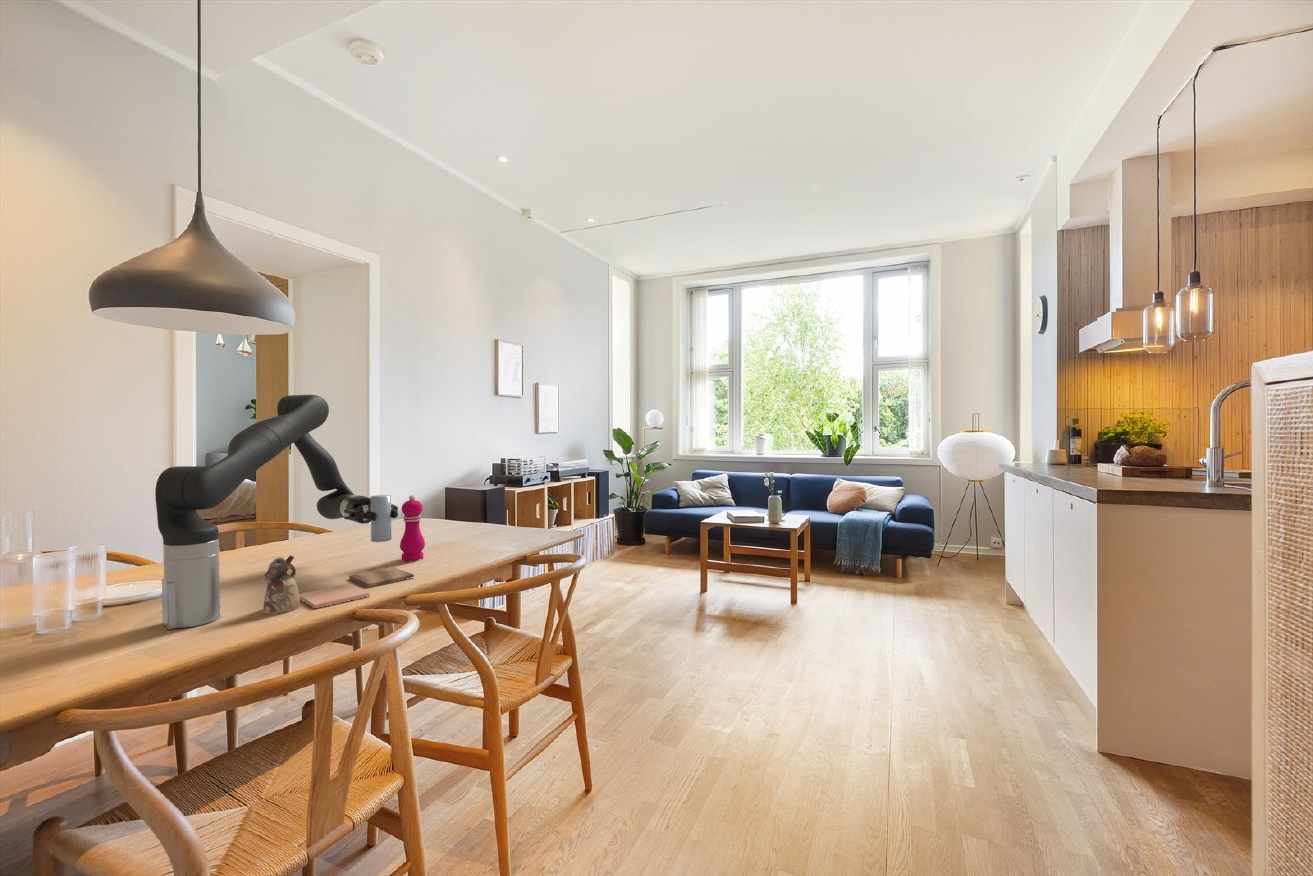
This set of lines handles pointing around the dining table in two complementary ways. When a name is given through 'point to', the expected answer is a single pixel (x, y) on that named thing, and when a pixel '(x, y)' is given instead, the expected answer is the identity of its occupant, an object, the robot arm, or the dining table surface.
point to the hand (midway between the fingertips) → (385, 515)
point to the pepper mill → (412, 531)
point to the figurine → (281, 587)
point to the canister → (381, 518)
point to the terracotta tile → (333, 595)
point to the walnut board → (380, 576)
